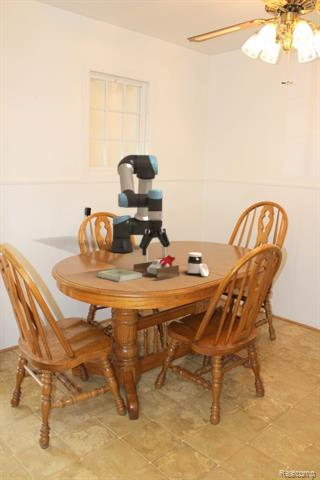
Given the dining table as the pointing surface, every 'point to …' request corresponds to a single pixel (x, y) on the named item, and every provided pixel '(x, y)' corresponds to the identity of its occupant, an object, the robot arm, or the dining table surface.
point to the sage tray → (119, 275)
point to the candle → (160, 264)
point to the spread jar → (196, 265)
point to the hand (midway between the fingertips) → (154, 260)
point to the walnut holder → (158, 271)
